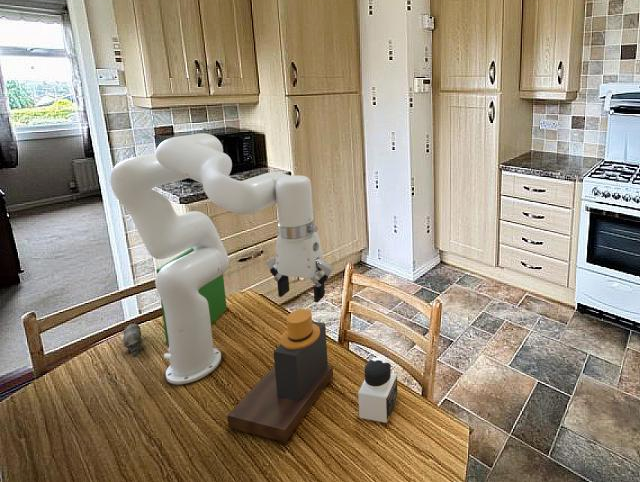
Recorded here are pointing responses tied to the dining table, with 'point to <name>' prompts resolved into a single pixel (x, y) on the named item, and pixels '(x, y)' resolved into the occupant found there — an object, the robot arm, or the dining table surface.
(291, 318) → the hat
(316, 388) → the brown flat slab
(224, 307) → the hardback book
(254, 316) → the dining table surface
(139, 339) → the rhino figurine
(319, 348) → the dark grey block
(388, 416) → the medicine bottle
